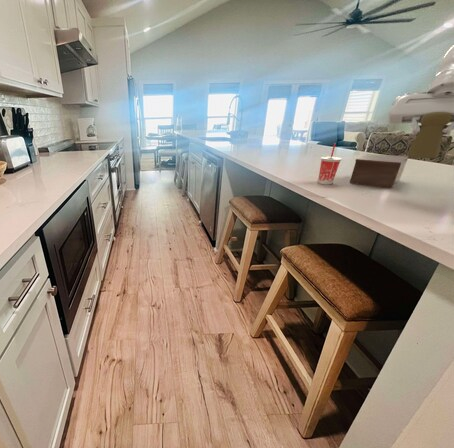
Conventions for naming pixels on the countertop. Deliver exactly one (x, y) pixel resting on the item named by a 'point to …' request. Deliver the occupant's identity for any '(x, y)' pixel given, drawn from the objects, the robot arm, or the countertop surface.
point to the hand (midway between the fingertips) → (430, 133)
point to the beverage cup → (328, 168)
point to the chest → (377, 174)
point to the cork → (429, 135)
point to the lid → (382, 159)
